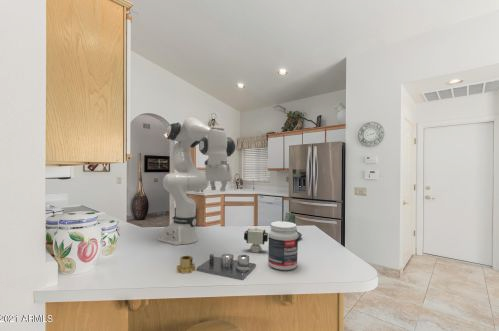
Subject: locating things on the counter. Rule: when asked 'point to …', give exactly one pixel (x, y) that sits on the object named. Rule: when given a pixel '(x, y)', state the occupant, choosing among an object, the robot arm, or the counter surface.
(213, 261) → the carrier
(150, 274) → the counter surface
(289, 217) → the tree stump
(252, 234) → the pneumatic valve
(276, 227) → the supplement tub
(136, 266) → the counter surface
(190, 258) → the gear
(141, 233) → the counter surface
